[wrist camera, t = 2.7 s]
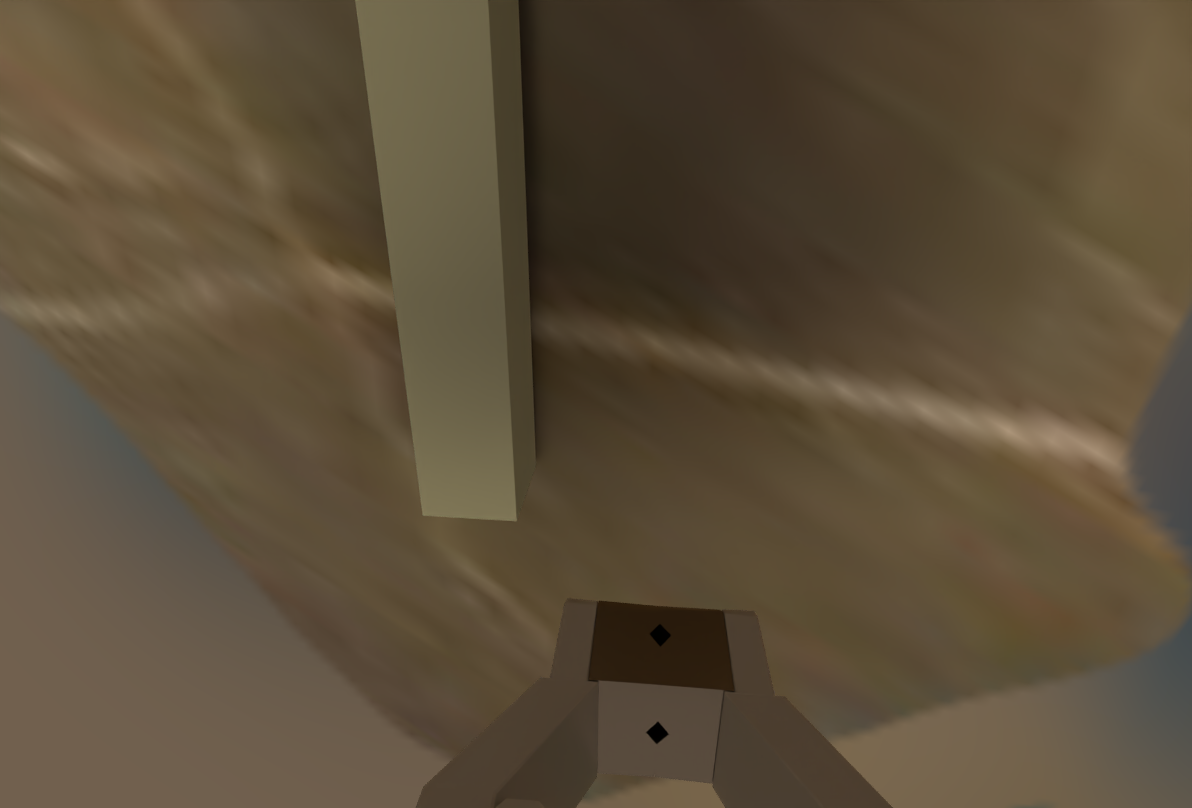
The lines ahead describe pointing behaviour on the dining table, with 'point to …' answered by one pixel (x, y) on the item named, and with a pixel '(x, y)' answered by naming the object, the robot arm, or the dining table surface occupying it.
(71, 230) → the dining table surface
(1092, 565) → the dining table surface
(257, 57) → the dining table surface
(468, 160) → the folding leg
